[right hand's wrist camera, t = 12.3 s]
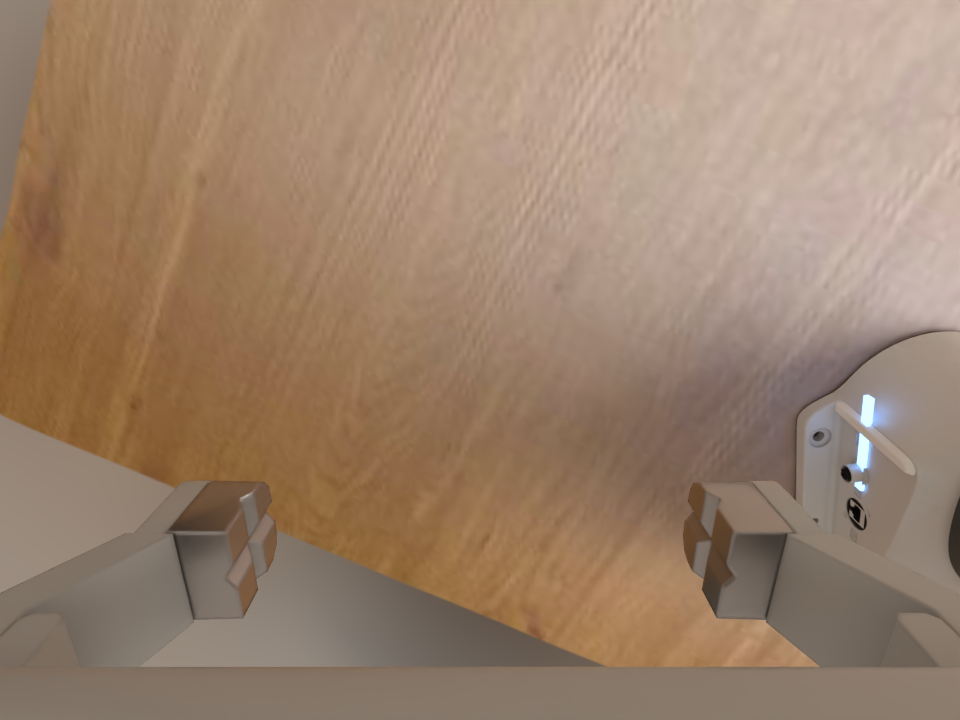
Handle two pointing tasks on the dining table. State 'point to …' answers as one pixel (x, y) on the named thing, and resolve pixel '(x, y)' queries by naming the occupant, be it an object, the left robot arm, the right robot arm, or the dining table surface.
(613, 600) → the dining table surface
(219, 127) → the dining table surface
